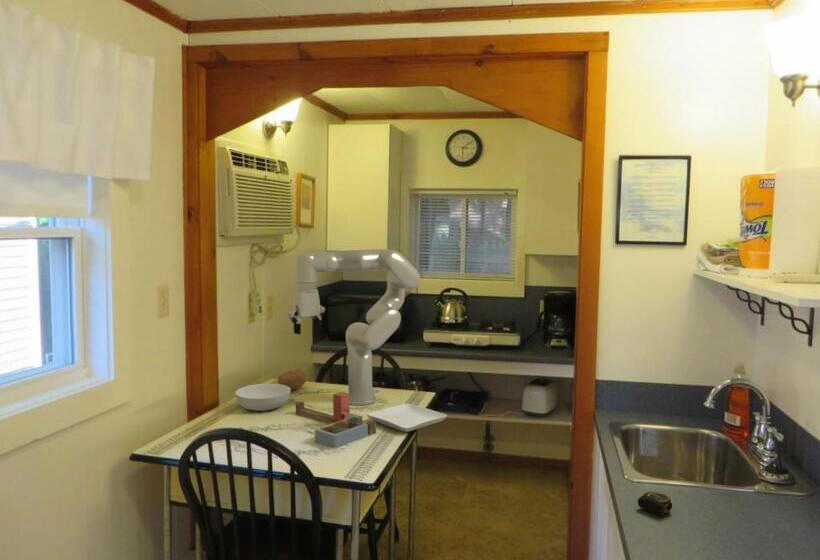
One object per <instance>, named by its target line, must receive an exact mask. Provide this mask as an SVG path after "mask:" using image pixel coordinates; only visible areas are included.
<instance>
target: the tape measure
mask: <svg viewBox="0 0 820 560" xmlns="http://www.w3.org/2000/svg"><path fill="white" fill-rule="evenodd" d="M671 500H672V499H671V497H670V496H669V495H666V494H665V493H662V492H658V491H657V492H656V491H648V492H646V493H644V494H643V495H642V496H640V497H639V498H638V499H637V505H638V507H639V508H641V509H643V510H644V511H645V510H646V511H647V512H651V513H653V514H655V515H658V516H660V517H662V516H664V515H666V514H669V513H670V511H671V510H672V508H673V503H672V501H671Z"/></svg>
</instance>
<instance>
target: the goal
mask: <svg viewBox="0 0 820 560" xmlns="http://www.w3.org/2000/svg"><path fill="white" fill-rule="evenodd" d="M368 436H369V435H368V424H367V423H362V425H359V426H356V427H354V428H351V429H348V430H345V431H342V432H339V433H337V434H334V433H330V432H327V431H324V430H320V428H317V429H314V442H315V443H317V444H321V445H324V446H327V447H329V448H333V449H338V448H340V447H343V446H345V445H349V444H351V443H354V442H356V441H358V440H362V439H364V438H366V437H368Z"/></svg>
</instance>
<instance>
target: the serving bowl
mask: <svg viewBox="0 0 820 560" xmlns="http://www.w3.org/2000/svg"><path fill="white" fill-rule="evenodd" d="M291 391H292V390H291V389H290V388H289V387H288V386H285V385H281V384H278V383H258V384H251V385H246V386H245V385H244V386H243V387H239V388H238V389H237V390H236V391H235V398H236V401H237V403H238V404H239V405H240V406H241V407H243V408H245V409H246V410H249V411H250V410H251V411H258V412H263V411H264V412H266V411H270V410H271V411H272V410H275V409H278V408H280V407H282V406H284V405H285V404H286V403H287V402H288V400H289V399H290V396H291Z"/></svg>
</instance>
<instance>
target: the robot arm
mask: <svg viewBox="0 0 820 560" xmlns="http://www.w3.org/2000/svg"><path fill="white" fill-rule="evenodd" d="M295 269H296V270H295V273H296V274H295V277H296V278H295V279H296V290H295V291H294V293H293V299H292V308H291V310H289V311H288V312H287V315H288V316H289V320H290V321H291V323H293V333H294V334H295V335H301V334H302V330H301V329H302V324H301V321H302V319H305V318H314V319H313V330H314V331H318V332H319V331H321V329H322V328H321V321H322V318H323V317H324V315H325V314H324V313H325V311H326V307H325V306H323V305H321V302H320V295H319V290H318V286H319V283H318V282H317V281H318V279H317V274H318V273H325V274H326V273H327V274H329V273H333V272H335V271H345V272H352V273H353V272H373V271H387V275H386V284H387V288H386V291H385V293H384V294H383V296H381V297H380V299H379V300H378V301H376V303H375V304H374V305H373V306H372V307H371V308H370V309H369V310H368V311H367V312H366V316H365V320H366V323H364V322H360V321H359V322H354V323H352V324H350V325H348V327H347V329H346V331H345V342H346V348H347V362H348V363H347V364H348V365H347V369H348V374H347V376H348V393H349V405H353V406H365V405H371V404H374V403H376V401H377V396H375V395H376V394H377V393H378V394H379V393H380V392H381V388H380V387H376V388H374V387H373V354H372V351H375V350H377V349H379V348H380V347H381V346H382V345H383V344H384V343H385V342H386V341H388V339H389V338H390V337H391V336H392V335H393V334H394V333H395V332H396V330H397V329H398V328H399V327H400V325H401V321H402V320H401V319H402V316H401V313H400V311H399V310H400V309H401V307H402V306H403V304H404V303H405V293H406V292H405V291H406V290H413V289H414V290H415V289H416V288H418V286H419V285H420V283H421V275H420V273H419V270H418V269H416V268H415V267H414V266H413V265H412V264H411V262H410V261H409V260H408V259H407V258H406V257H405V256H404V255H403V254H402V253H400V252H399V251H398V250H396V249H388V248H375V249H371V248H370V249H352V250H338V251H337V250H335V251H334V250H333V251H315V252H313V253H299V254H297V255H296V257H295Z"/></svg>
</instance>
